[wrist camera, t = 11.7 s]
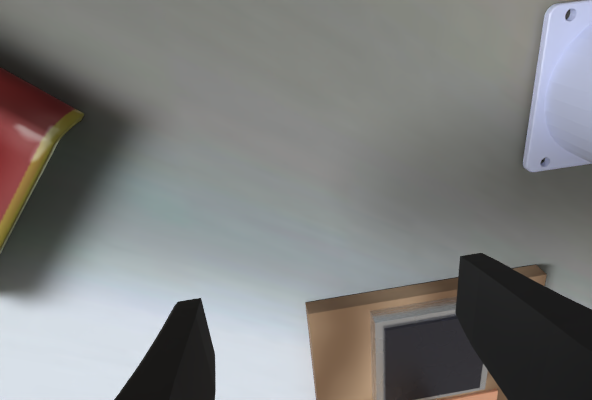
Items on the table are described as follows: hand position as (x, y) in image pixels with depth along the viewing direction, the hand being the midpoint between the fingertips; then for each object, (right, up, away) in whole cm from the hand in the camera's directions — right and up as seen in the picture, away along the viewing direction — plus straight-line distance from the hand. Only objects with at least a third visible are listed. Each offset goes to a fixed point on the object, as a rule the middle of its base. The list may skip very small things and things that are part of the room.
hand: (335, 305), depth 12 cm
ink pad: (+7, -6, +14) cm, 17 cm away
